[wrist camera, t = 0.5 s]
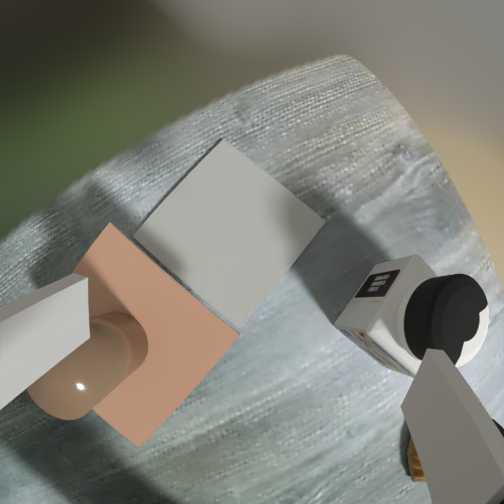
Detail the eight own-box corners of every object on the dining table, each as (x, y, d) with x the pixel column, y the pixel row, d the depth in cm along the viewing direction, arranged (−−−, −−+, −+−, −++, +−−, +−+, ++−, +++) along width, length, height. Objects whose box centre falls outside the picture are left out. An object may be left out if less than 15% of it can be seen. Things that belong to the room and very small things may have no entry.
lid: (142, 442, 20) (100, 517, 10) (33, 339, 21) (-50, 360, 11) (239, 333, 22) (245, 372, 12) (114, 224, 22) (43, 186, 12)
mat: (239, 328, 28) (239, 329, 28) (133, 237, 29) (132, 236, 28) (324, 222, 31) (326, 221, 30) (223, 140, 31) (223, 139, 30)
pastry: (394, 429, 28) (412, 441, 25) (439, 398, 30) (458, 406, 26) (408, 481, 28) (424, 494, 24) (449, 451, 29) (466, 461, 25)
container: (331, 325, 29) (404, 339, 16) (374, 262, 31) (458, 240, 18) (383, 367, 29) (466, 396, 16) (422, 307, 30) (510, 306, 18)
